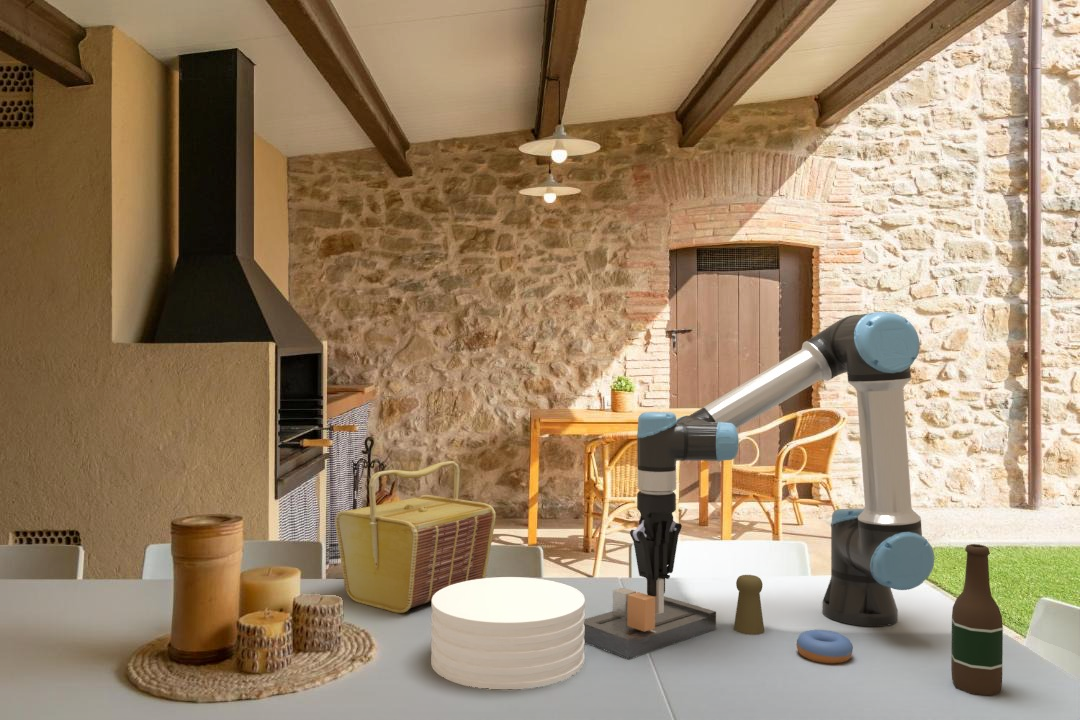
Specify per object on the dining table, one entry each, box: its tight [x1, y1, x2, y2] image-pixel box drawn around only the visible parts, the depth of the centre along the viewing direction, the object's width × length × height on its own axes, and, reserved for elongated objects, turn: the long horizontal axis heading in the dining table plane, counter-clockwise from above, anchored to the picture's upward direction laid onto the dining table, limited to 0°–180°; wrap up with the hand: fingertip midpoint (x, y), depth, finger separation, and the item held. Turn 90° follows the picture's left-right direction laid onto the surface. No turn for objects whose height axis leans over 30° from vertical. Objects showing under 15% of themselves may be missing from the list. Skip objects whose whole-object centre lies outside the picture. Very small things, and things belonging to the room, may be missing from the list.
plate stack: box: [430, 576, 586, 690], centre depth 150 cm, size 28×28×12 cm
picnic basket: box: [334, 460, 497, 614], centre depth 190 cm, size 29×26×30 cm
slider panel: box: [584, 587, 717, 660], centre depth 165 cm, size 15×26×8 cm, turn 131°
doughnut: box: [795, 629, 854, 665], centre depth 153 cm, size 10×10×5 cm
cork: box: [733, 574, 765, 636], centre depth 167 cm, size 6×6×11 cm
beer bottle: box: [950, 543, 1004, 697], centre depth 139 cm, size 8×8×24 cm
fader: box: [627, 591, 655, 632], centre depth 158 cm, size 4×3×6 cm
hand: (656, 611), depth 160 cm, fingers closed
